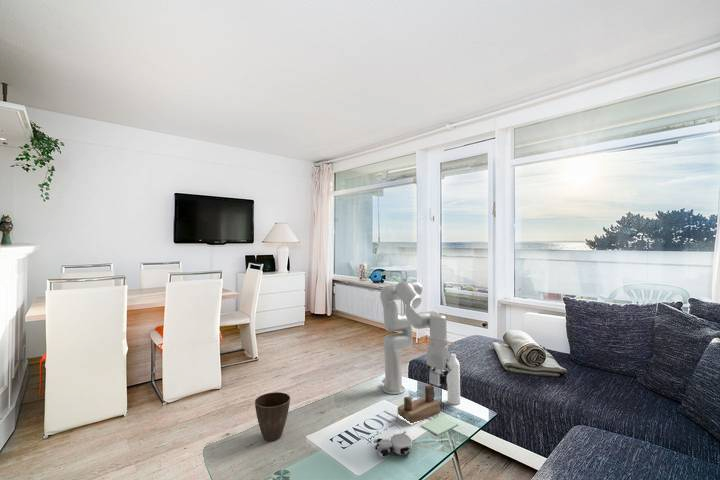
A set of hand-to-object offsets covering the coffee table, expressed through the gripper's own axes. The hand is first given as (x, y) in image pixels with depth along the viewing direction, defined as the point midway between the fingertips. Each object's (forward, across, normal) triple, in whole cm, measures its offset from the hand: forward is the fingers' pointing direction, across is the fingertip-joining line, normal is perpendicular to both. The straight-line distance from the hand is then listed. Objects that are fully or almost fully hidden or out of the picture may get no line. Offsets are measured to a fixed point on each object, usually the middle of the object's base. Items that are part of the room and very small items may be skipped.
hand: (438, 381), depth 155 cm
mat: (+20, 0, 0) cm, 20 cm away
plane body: (+20, -12, 0) cm, 23 cm away
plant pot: (+20, -38, -64) cm, 77 cm away
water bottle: (+20, -12, +24) cm, 33 cm away
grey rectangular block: (0, 0, 0) cm, 0 cm away
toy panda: (+20, +2, -30) cm, 36 cm away
